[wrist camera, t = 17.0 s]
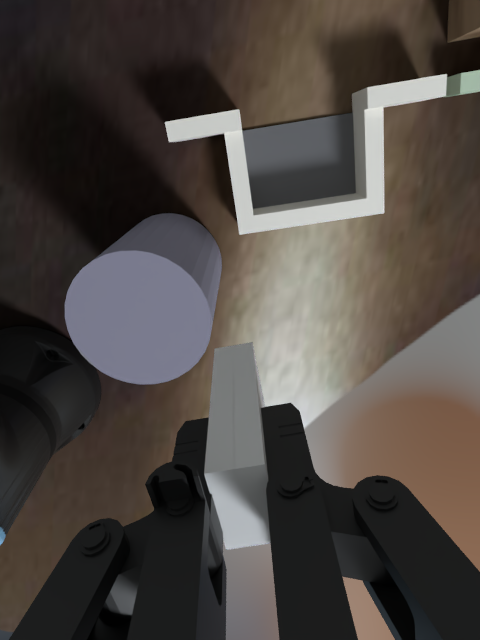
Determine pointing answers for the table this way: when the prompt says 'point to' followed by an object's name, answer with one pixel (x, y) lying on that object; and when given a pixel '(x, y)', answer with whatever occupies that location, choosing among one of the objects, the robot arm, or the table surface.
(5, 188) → the table surface
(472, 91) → the rails
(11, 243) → the table surface
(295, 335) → the table surface
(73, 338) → the lavender cylinder
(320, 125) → the white walled enclosure
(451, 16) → the block
